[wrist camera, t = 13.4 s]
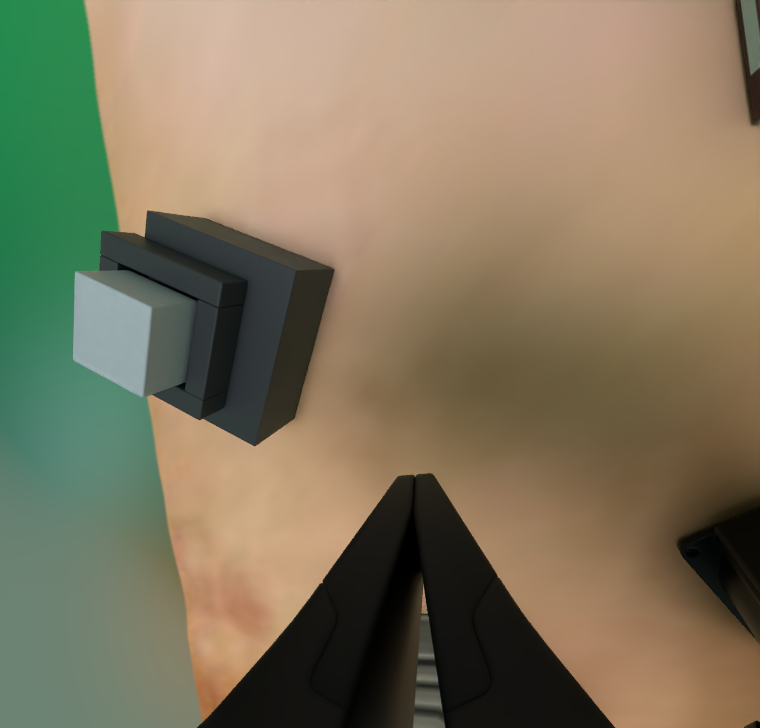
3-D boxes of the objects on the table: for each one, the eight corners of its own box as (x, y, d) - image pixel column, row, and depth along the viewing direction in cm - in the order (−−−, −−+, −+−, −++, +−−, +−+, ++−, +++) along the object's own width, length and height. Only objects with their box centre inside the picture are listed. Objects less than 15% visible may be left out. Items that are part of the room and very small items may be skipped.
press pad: (199, 301, 18) (151, 307, 15) (187, 382, 19) (142, 398, 17) (129, 269, 19) (74, 270, 16) (123, 349, 20) (72, 360, 18)
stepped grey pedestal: (334, 268, 21) (273, 271, 16) (293, 419, 24) (232, 462, 19) (197, 215, 23) (101, 200, 18) (177, 360, 26) (93, 385, 21)
